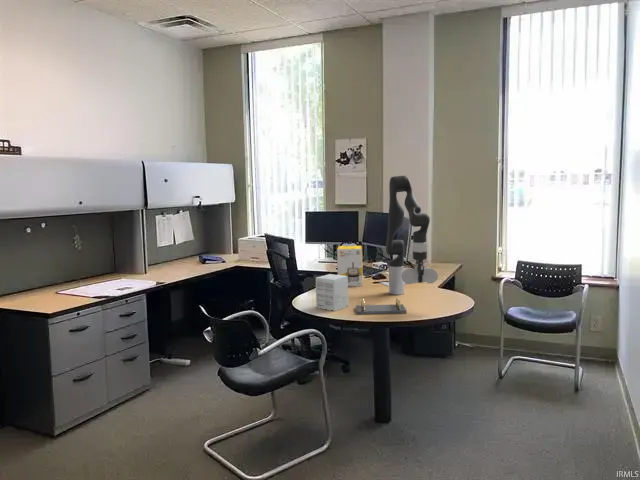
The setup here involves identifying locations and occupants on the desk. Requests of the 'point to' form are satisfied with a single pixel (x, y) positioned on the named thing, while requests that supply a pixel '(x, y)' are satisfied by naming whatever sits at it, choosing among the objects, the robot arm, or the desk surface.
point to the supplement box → (332, 292)
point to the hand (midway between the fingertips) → (419, 281)
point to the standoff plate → (380, 308)
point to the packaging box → (350, 264)
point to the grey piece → (412, 275)
